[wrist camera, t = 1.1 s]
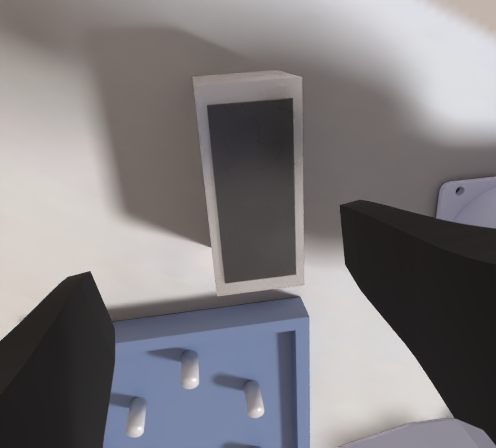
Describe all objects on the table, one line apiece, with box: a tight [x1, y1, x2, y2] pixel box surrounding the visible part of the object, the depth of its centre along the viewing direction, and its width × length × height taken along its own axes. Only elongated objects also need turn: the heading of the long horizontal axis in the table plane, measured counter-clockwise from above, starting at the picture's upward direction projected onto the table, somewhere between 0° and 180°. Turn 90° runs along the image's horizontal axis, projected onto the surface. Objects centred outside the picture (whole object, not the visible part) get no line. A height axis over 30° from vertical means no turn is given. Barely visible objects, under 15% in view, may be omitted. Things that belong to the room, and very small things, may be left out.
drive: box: [192, 70, 304, 296], centre depth 19 cm, size 4×9×5 cm, turn 4°
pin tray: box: [103, 297, 310, 448], centre depth 26 cm, size 14×17×3 cm
